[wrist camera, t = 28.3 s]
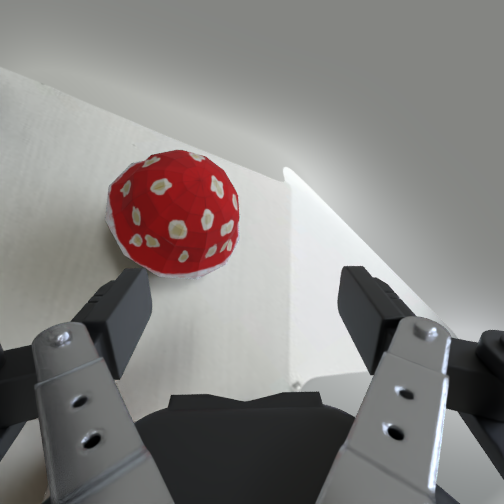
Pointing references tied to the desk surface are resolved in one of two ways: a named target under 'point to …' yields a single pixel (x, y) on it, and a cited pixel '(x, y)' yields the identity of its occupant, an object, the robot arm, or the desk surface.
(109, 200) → the decorative mushroom
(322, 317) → the desk surface
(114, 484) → the robot arm
